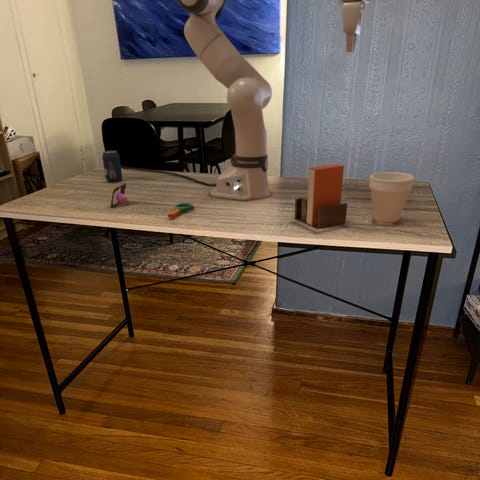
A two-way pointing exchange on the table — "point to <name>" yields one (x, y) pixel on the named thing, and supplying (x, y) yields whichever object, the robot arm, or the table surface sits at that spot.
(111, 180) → the soda can
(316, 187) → the book
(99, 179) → the table surface
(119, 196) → the brown pink framed ornament
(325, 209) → the rack
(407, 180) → the flower pot
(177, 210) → the magnifying glass
